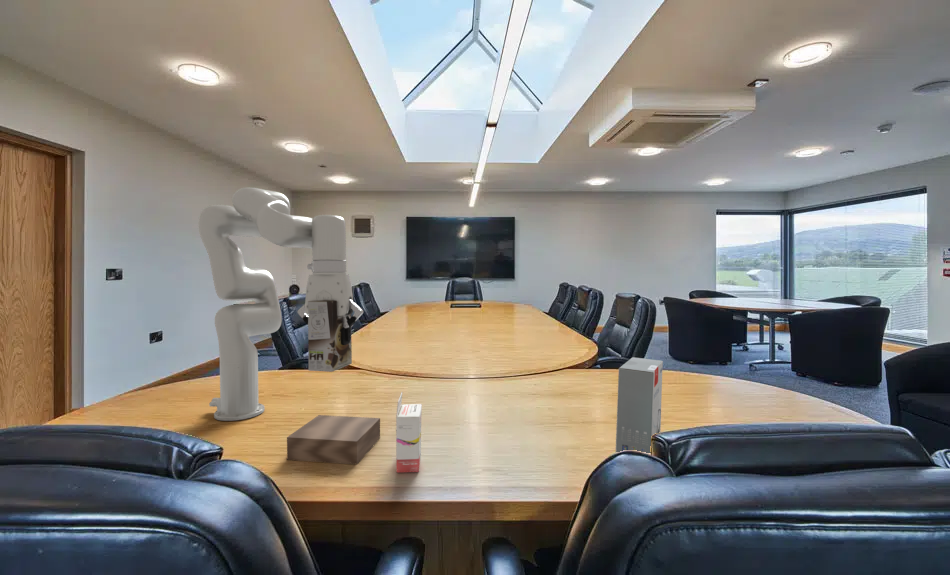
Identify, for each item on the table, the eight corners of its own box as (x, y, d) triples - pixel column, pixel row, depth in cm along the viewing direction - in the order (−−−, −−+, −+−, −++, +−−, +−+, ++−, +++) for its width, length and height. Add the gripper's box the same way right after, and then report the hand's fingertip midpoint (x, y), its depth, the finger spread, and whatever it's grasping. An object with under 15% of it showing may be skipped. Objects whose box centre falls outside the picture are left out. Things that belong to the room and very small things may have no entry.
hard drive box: (651, 462, 89) (653, 372, 88) (615, 454, 93) (616, 367, 92) (661, 438, 102) (663, 359, 101) (629, 432, 106) (630, 356, 106)
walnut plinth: (287, 459, 89) (286, 437, 89) (319, 434, 103) (319, 415, 103) (357, 464, 87) (356, 441, 87) (380, 438, 101) (380, 418, 101)
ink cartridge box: (420, 472, 84) (420, 402, 83) (395, 473, 84) (395, 402, 83) (422, 454, 93) (422, 390, 92) (399, 454, 92) (399, 390, 92)
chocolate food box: (333, 372, 92) (332, 300, 91) (307, 371, 93) (306, 300, 93) (353, 363, 101) (352, 298, 100) (329, 362, 102) (328, 298, 101)
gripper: (285, 268, 93) (287, 346, 94) (358, 268, 91) (359, 347, 92) (303, 269, 101) (304, 341, 101) (370, 268, 99) (372, 342, 99)
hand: (330, 343), depth 97 cm, fingers closed on chocolate food box, 6 cm apart
